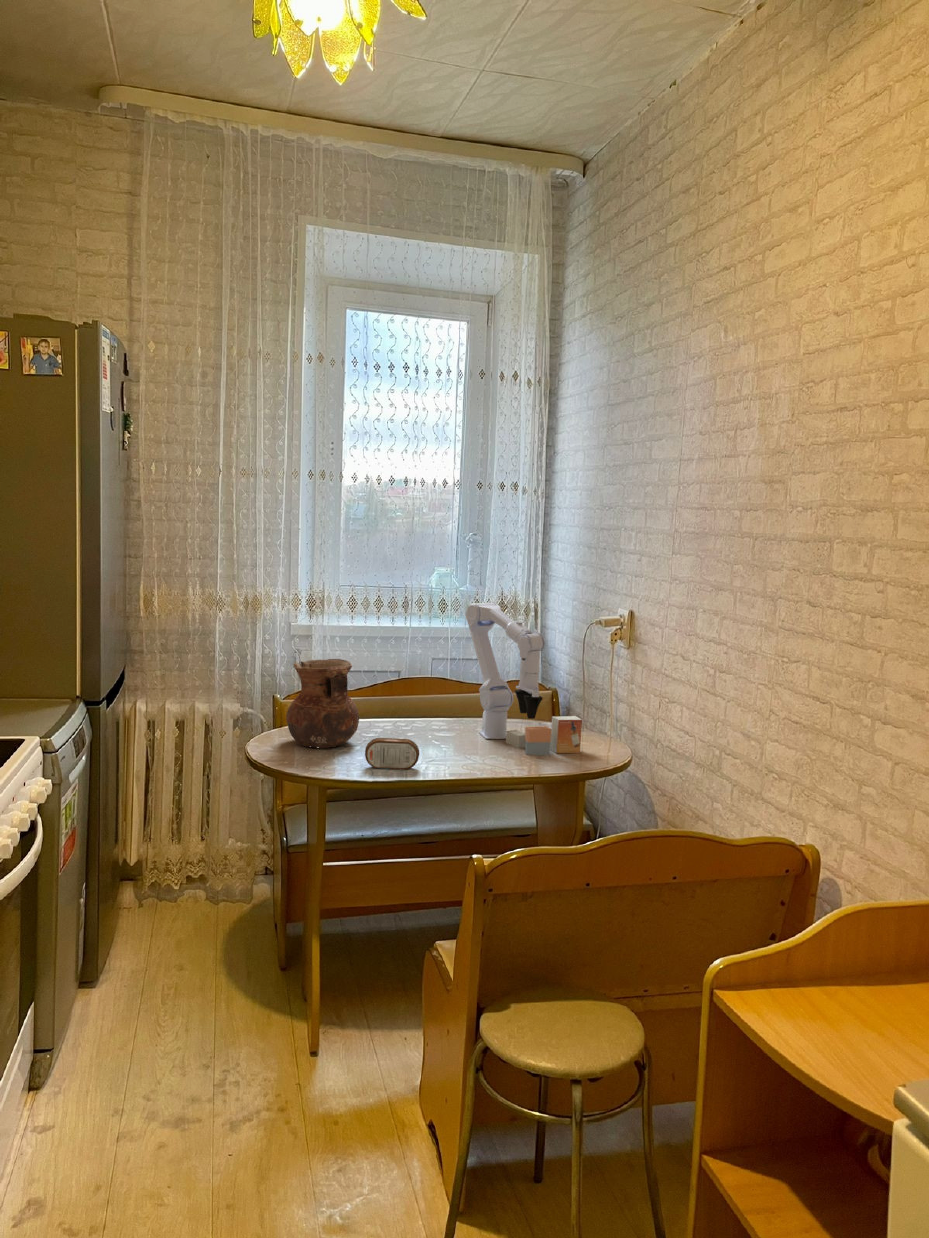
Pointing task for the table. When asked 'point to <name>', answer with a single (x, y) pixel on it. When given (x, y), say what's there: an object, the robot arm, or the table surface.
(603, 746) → the table surface
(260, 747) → the table surface
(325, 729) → the jug
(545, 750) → the slate brick
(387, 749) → the tin
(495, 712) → the robot arm
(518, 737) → the grey brick
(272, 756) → the table surface
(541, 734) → the terracotta brick
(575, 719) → the small box
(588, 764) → the table surface
